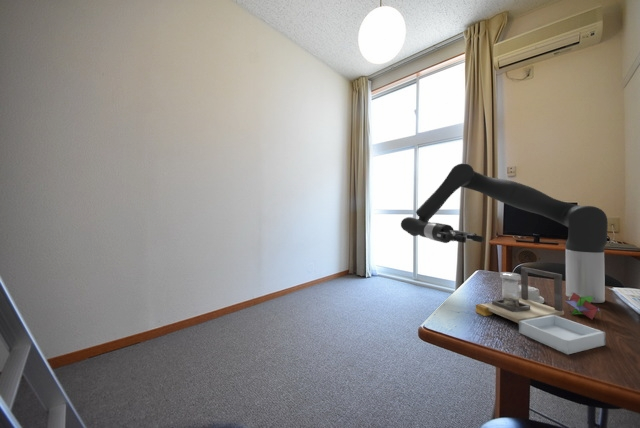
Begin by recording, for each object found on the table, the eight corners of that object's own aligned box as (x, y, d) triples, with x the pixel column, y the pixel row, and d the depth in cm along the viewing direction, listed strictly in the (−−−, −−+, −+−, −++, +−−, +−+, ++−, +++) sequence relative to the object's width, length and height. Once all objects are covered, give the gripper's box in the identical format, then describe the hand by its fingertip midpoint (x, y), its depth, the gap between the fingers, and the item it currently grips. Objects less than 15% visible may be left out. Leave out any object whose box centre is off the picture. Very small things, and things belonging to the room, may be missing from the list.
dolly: (521, 304, 79) (520, 266, 79) (564, 319, 68) (563, 274, 68) (475, 312, 74) (475, 270, 74) (514, 329, 63) (513, 281, 63)
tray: (553, 325, 65) (553, 314, 65) (605, 344, 55) (605, 332, 55) (518, 332, 62) (518, 321, 62) (567, 354, 52) (567, 341, 52)
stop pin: (508, 302, 75) (508, 271, 75) (525, 308, 70) (525, 275, 70) (496, 304, 74) (496, 272, 74) (513, 310, 69) (512, 277, 69)
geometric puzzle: (616, 316, 65) (594, 287, 70) (593, 317, 65) (573, 288, 70) (591, 322, 71) (573, 295, 76) (570, 323, 71) (553, 296, 75)
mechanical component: (517, 304, 81) (551, 306, 79) (517, 291, 81) (551, 292, 79) (501, 294, 90) (531, 295, 88) (501, 282, 90) (531, 283, 88)
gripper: (425, 223, 96) (460, 229, 81) (452, 223, 101) (489, 229, 85) (424, 241, 97) (458, 250, 81) (450, 240, 101) (487, 249, 86)
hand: (474, 239), depth 83 cm, fingers open, 8 cm apart
